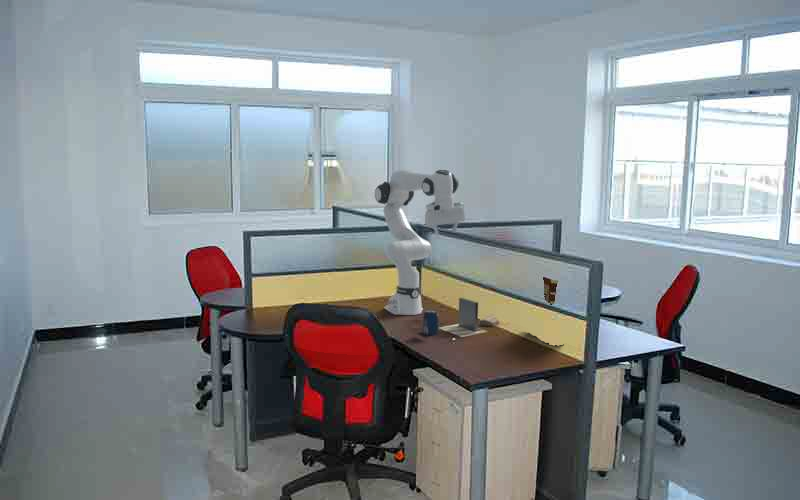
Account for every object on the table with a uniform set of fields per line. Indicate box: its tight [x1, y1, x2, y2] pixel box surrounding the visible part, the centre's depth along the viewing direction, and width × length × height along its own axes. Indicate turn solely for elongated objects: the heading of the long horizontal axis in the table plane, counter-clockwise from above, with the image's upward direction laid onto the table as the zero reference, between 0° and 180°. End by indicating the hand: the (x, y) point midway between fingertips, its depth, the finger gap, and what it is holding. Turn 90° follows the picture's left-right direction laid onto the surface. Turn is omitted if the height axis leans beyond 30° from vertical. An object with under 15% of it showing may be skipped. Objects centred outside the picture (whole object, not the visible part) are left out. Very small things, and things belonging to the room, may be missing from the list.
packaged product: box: [480, 315, 500, 327], centre depth 314 cm, size 18×5×10 cm
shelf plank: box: [438, 323, 488, 338], centre depth 301 cm, size 18×16×2 cm
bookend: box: [458, 297, 483, 332], centre depth 302 cm, size 12×4×14 cm, turn 35°
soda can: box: [422, 309, 439, 336], centre depth 294 cm, size 7×7×12 cm
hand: (445, 232), depth 305 cm, fingers open, 8 cm apart
